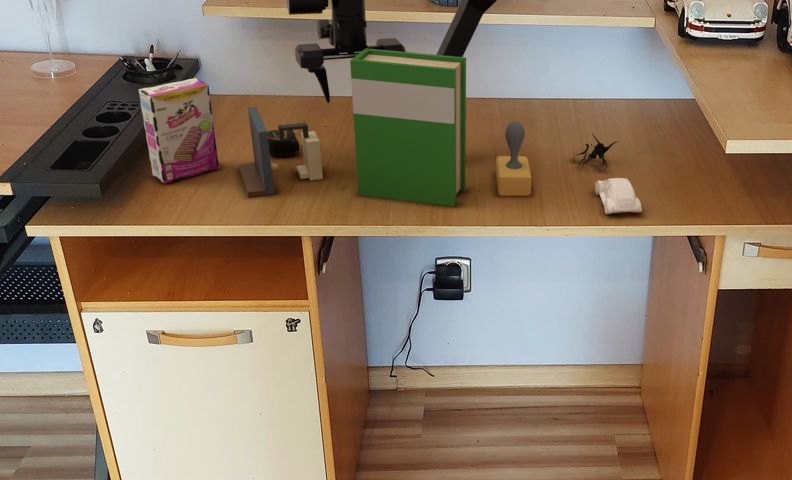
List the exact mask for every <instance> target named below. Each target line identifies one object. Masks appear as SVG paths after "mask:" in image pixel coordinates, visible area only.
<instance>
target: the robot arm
mask: <svg viewBox="0 0 792 480" xmlns="http://www.w3.org/2000/svg"><path fill="white" fill-rule="evenodd" d="M497 1H498V0H461V1H460V4H459V5H458V7H457V10H456V12H455V14H454V16H453V18H452V20H451V22H450V24H449V27H448V29H447V31H446V33H445V35H444V38H443V39H442V41H441V43H440V46H439V48H438V50H437V52H436V54H435V55H443V56H454V57H464V55H465V52H466V51H467V49H468V47H469V45H470V42H471V41H472V38H473V36H474V34H475V32H476V30H477V28H478V26H479V24H480V21H481V20H482V17H483V16H484V14H485V13H486V12H487V11H488V10H489V9H490V8H491V7H492V6H494V4H495V3H496V2H497ZM330 4H331V23H330V21H329V19H318V20H316V29H317V36H318V37H317V38H318V39H319V40H325V39H328V44H329V45H331V46H332V47H330V48H321V46H320V45H319V44H318V43H317V42H314V43H300V44H299V43H298V44H297V46H296V47H295V48H294V56H295V61H296V63H297V64H298V66H299V67H300V68H301V69H304V70H305V69H306V71H307V72H308V73H311V74H312V73H313V74H314V75H315V77H316V79H317V81H318V83H319V86H320V89H321V92H322V94H323V97H324V99H325V101H326V103H327V104H330V102H331V96H330V95H331V94H330V87H329V81H328V73H327V68H326V67H325V65H324V64H325V61H332V60H345V59H346V60H347V59H353V58H354V57H355V56H357V55H358V54H359V53H361V52H362V51H363V50H365V49H366V48H367V49H378V50H389V51H400V52H407V50H406V47H405V45H403V44H402V43H401V42H400V41H399V40H398V39H397V38H396V37H390V38H377V39H376V44H375V45H373V44H372V45H368V43H367V28H368V25H367V24H368V23H367V22H368V21H367V20H366V0H330ZM286 7H287V13H288V15H290V16H292V15H295V16H296V15H319V14H321V15H322V14H323V11H326V9H327V8H329V0H286Z"/></svg>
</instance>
